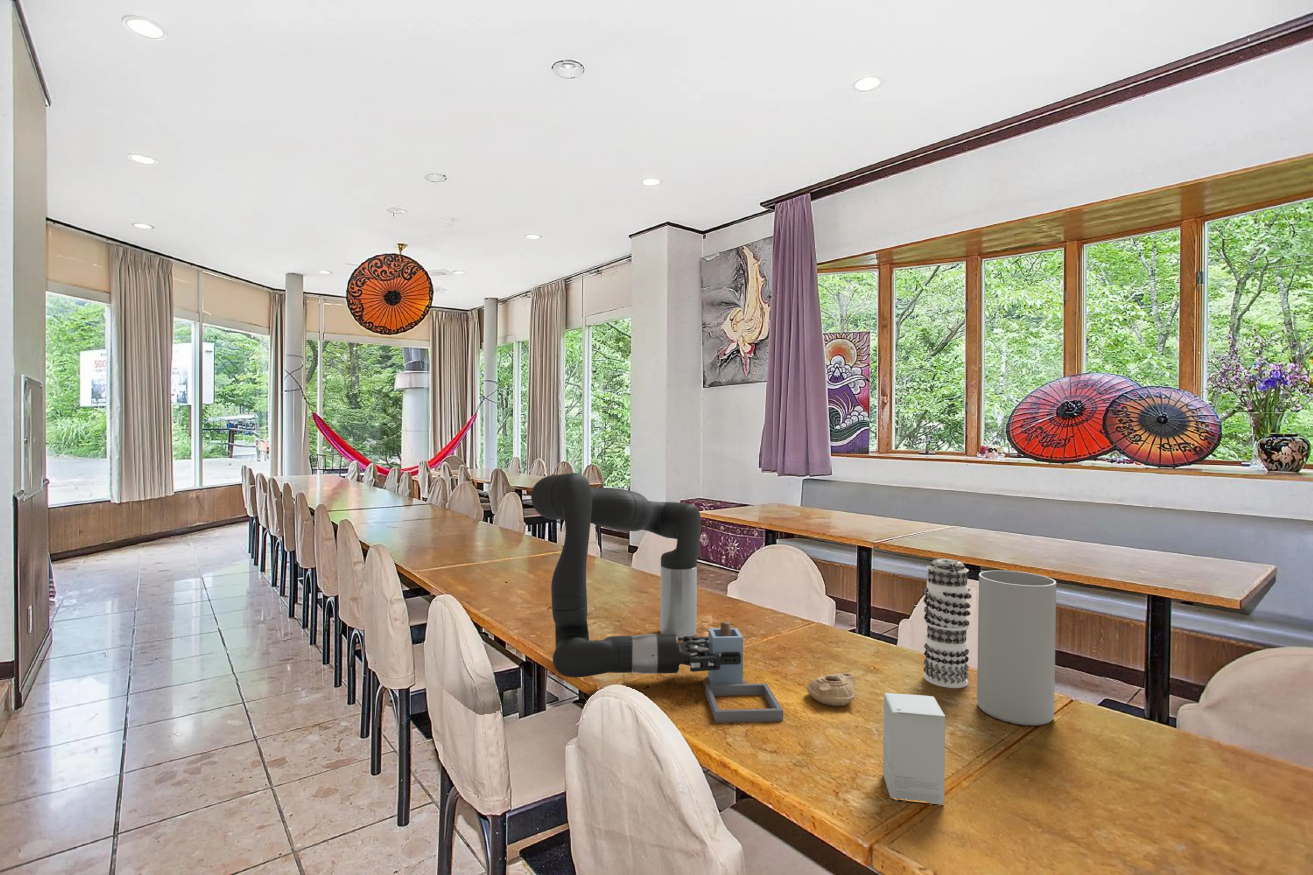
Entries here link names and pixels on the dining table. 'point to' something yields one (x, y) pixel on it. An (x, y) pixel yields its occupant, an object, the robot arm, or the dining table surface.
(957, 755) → the dining table surface
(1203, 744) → the dining table surface
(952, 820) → the dining table surface
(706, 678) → the box
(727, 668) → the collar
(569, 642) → the robot arm
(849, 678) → the pottery oil lamp
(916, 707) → the supplement box
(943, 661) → the decorative candle
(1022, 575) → the cylinder vase
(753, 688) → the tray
